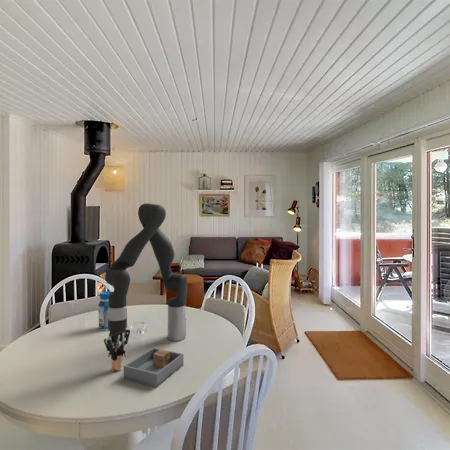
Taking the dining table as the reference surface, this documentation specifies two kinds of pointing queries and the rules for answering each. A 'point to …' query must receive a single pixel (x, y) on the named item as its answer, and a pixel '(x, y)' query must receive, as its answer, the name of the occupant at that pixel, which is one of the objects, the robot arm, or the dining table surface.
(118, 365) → the grandmother figurine
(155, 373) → the tote
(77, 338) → the dining table surface
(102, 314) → the blue labelled canister
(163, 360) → the walnut block
